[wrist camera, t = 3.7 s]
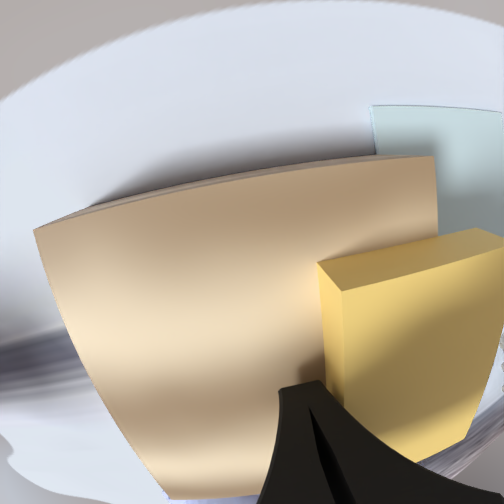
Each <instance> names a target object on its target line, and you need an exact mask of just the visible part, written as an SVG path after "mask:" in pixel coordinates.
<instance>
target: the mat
mask: <svg viewBox="0 0 504 504" xmlns="http://www.w3.org/2000/svg"><path fill="white" fill-rule="evenodd" d="M369 110H370V115H371V121H372V128H373V134H374V141H375V148H376V155H422V156H434V162H435V174H436V188H437V210H438V236H441V235H446V234H450V233H455V232H459V231H463V230H467V229H472V228H479V229H482V230H485V231H487V232H490V233H493V234H495V235H498V236H500V237H503V238H504V129H503V121H502V114H501V113H500V112H492V111H483V110H473V109H462V108H447V107H427V106H371V107H369Z"/></svg>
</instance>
